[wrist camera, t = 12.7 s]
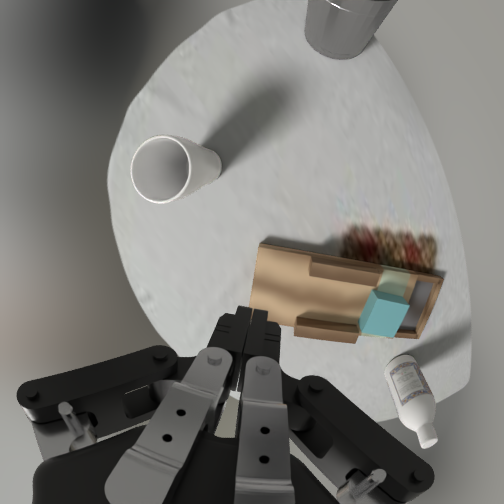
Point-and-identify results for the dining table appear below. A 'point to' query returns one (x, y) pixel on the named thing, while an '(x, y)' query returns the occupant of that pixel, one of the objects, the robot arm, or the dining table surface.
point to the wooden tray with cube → (335, 293)
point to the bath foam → (412, 398)
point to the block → (383, 314)
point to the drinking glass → (172, 168)
